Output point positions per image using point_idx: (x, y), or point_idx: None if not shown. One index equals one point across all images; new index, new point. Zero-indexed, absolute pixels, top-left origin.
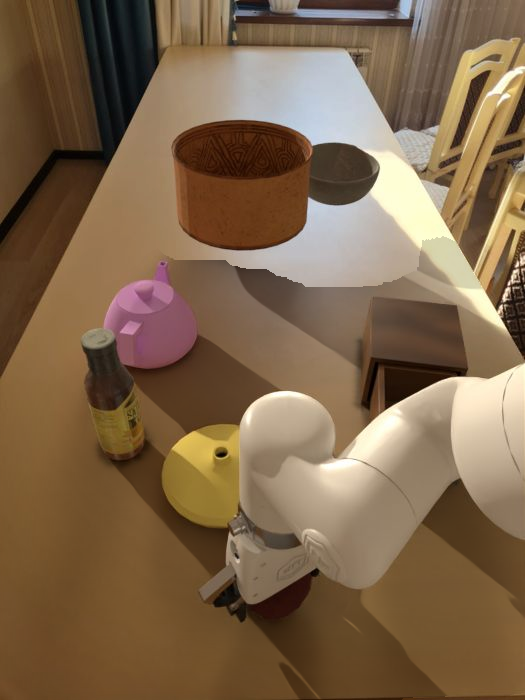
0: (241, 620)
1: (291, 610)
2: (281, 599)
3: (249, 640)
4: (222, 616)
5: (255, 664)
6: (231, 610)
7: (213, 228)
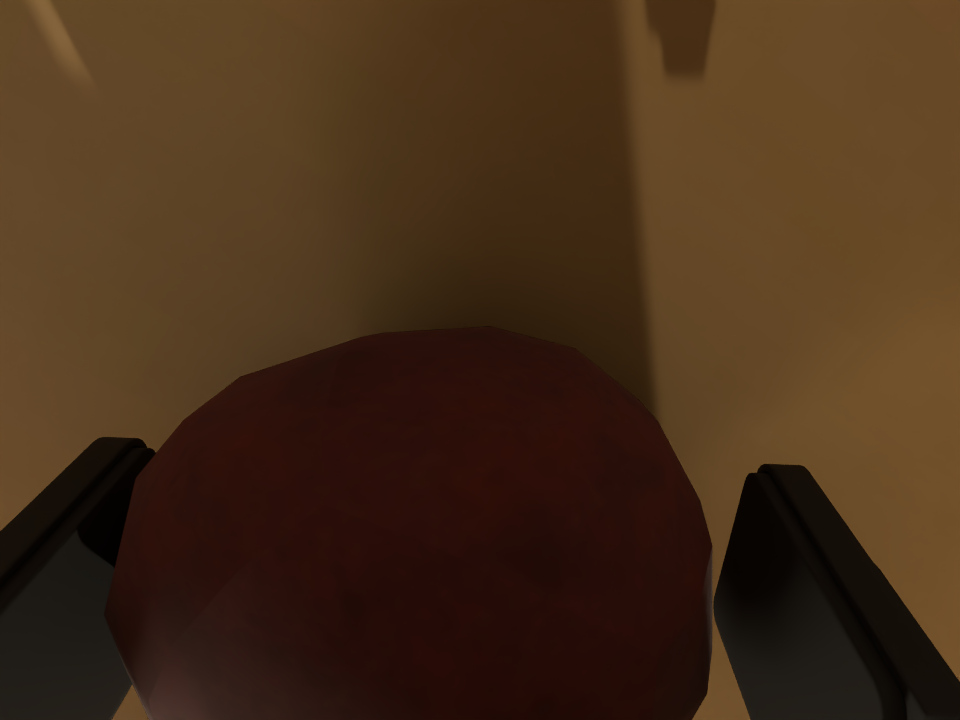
0: (825, 497)
1: (444, 367)
2: (500, 534)
3: (749, 318)
4: None
5: (828, 173)
6: (944, 662)
7: None
